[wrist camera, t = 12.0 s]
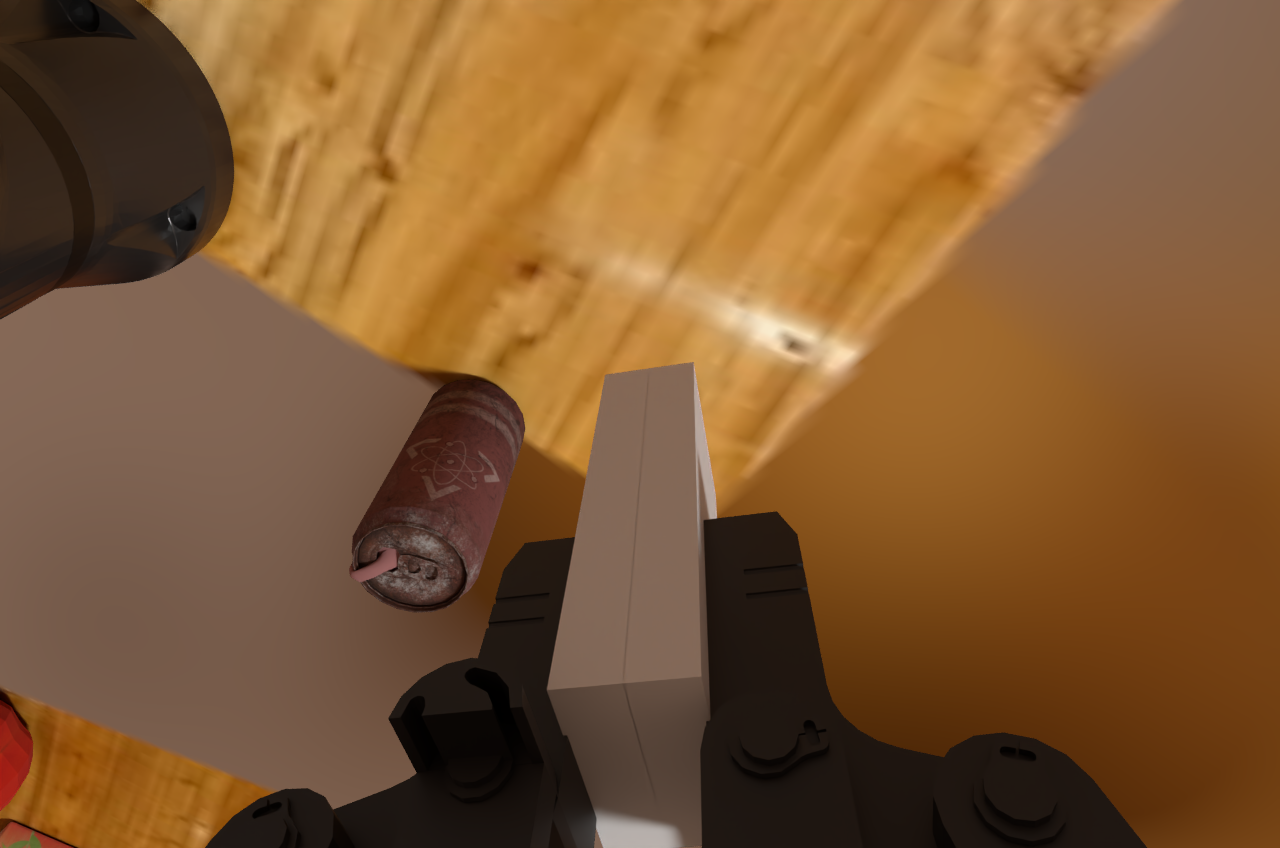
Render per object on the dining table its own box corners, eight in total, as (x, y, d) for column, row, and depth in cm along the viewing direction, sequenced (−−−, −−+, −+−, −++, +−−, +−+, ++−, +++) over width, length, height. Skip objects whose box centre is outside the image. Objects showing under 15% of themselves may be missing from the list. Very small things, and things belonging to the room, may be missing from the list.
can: (406, 394, 48) (313, 542, 36) (499, 362, 46) (434, 505, 34) (454, 471, 50) (382, 632, 38) (542, 443, 49) (496, 602, 37)
